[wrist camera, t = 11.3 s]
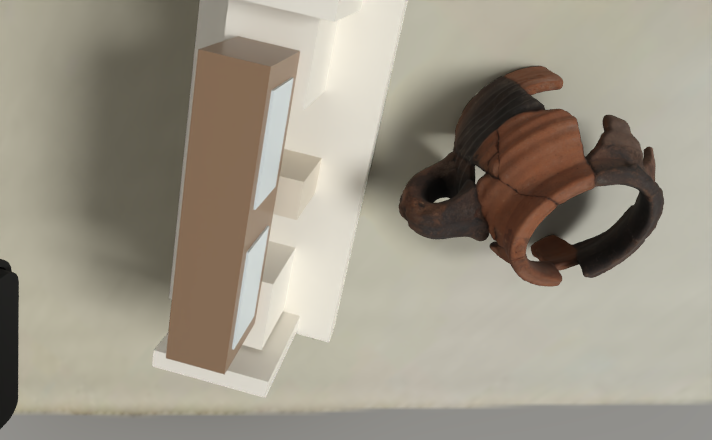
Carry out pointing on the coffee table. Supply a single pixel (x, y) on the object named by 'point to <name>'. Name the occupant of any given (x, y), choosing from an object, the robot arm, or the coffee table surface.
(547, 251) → the brown curved ringed piece
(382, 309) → the coffee table surface
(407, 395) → the coffee table surface
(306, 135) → the stand
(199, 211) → the tall brown box
